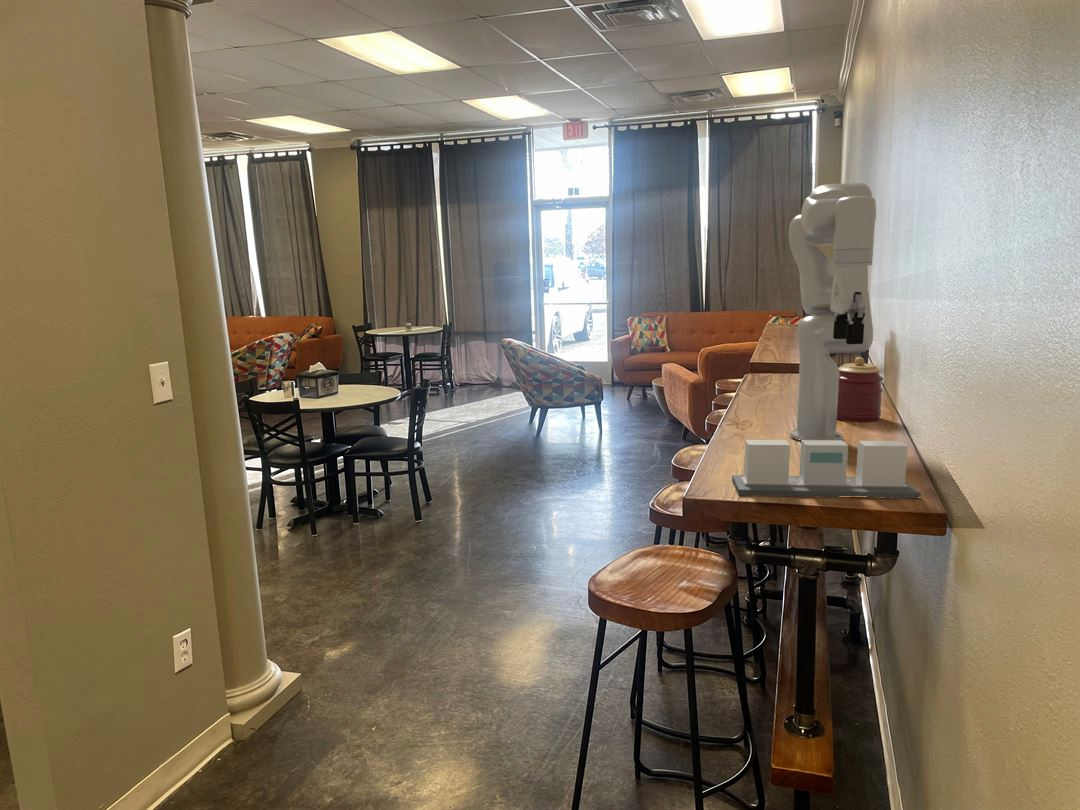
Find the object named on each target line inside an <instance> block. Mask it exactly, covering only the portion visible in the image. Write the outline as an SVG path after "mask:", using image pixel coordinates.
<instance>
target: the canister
mask: <svg viewBox="0 0 1080 810" xmlns="http://www.w3.org/2000/svg"><path fill="white" fill-rule="evenodd" d="M838 369H839V390H838V407H837V418H838V419H837V420H840V419H841V421H845V420H846V422H854V423H855V422H856V423H869V422H872V423H873V422H877V421H879V420H880V418H881V416H882V398H883V397H882V394H883V391H884V390H883V388H882V382H883V381H884V377H883V376H881V375H880V373H881V372H882V371H881V368H879V367H877V366H876V365H875V364H871V363H865V359H864V358H863V357H862V356H858V357H856V358H855V359H854V362H853V363H844V364H843V365H841V366H839V367H838Z"/></svg>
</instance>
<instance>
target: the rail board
mask: <svg viewBox="0 0 1080 810" xmlns="http://www.w3.org/2000/svg"><path fill="white" fill-rule="evenodd" d="M741 477H744V475H743V474H732V475H731V482H732V483H733V486H734V488H735V490H736V493H737V495H738V496H745V497H746V496H747V497H748V496H749V497H750V496H753V497H795V498H796V497H801V498H802V497H803V498H804V497H807V498H809V497H810V496H811V497H810V498H815V497H816V496H818V497H816V498H840V497H839V496H867V497H888V498H887V499H903V498H918V497H921V498H922V492H921V491H920V490H919V489H917V488H916V487H915V486H914V485H912V484H911V483H910V482H909V481H907V480H906V479H905V484H906V485H907V486H908V489H897V488H838V487H779V486H745V485H744V483H743V481H742V479H741ZM789 477H790V478H799V475H789ZM846 478H855V479H856V476H846ZM892 497H893V498H892Z"/></svg>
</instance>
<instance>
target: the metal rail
mask: <svg viewBox="0 0 1080 810" xmlns="http://www.w3.org/2000/svg"><path fill="white" fill-rule="evenodd" d="M741 479H742V481H743V483H744V485H745V486H779V487H838V488H897V489H908V486H907V485H906V484H905V486H880V485H861V484H860V483H859V482H858V481H857V480H856V479H855V478H846V485H836V484H803V482H802V481H801V480H800V478H790V477H789V479H788V484H759V483H747V482H746V480H745V478H744V477H741Z"/></svg>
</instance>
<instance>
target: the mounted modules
mask: <svg viewBox="0 0 1080 810" xmlns="http://www.w3.org/2000/svg"><path fill="white" fill-rule="evenodd" d="M744 440H745V441H744V459H745V466H744V465H743V473H744V478H745V480H746V482H747V483H759V484H788V479H789V476H790V456H791V455H790V454H791V453H790V452H791V445H790V443H789V442H788V441H787V440H786V439H744ZM908 449H909V445H906V444H905V443H904V442H902V441H900V440H899V441H898V440H897V441H895V440H858V441H857V456H856V472H855V473H856V474H855V477H856V480H857V481H858V482H859V483H860V484H861V485H880V486H905V480H906V475H907V463H908Z"/></svg>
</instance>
